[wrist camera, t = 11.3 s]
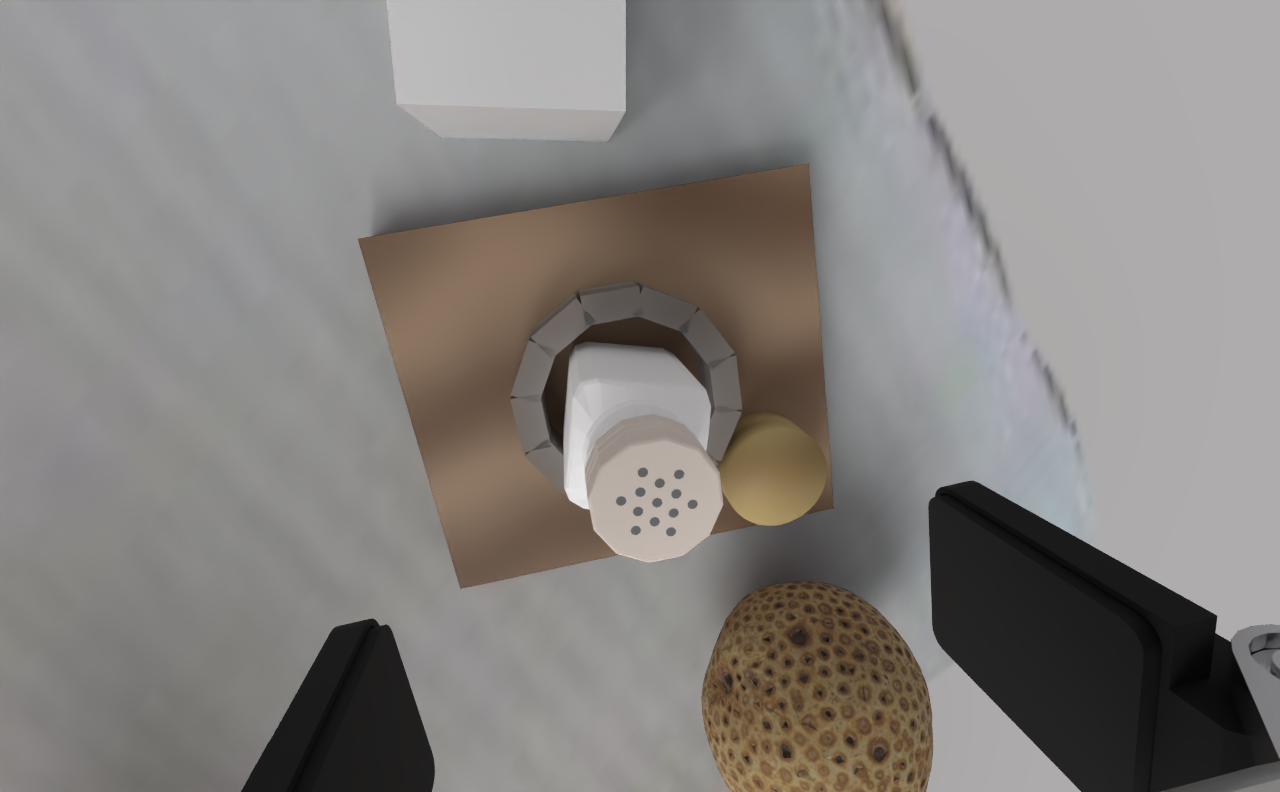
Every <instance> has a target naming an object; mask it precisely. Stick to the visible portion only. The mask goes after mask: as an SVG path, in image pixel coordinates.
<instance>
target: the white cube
mask: <svg viewBox="0 0 1280 792" xmlns="http://www.w3.org/2000/svg"><path fill="white" fill-rule="evenodd" d="M386 2H387V12H388V23H389V33H390V43H391V54H392V64H393V74H394V85H395V95H396V104H397V105H399V106H400V107H401V108H402V109H404V110H405V111H406V112H408V113H409V114H410V115H412V116H413V117H414V118H416V119H417V120H418V121H420V122H421V123H422V124H423V125H425V126H426V127H427V128H429V129H430V130H431V131H433V132H434V133H435V134H437V135H438V136H439V137H446V138H484V139H523V140H561V141H600V142H609V140H610V138H611V137H612V135H613V133H614V131H615V130H616V128H617V126H618V124H619V122H620V121H621V119H622V117H623V115H624V114H625V112H626V0H386Z"/></svg>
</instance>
